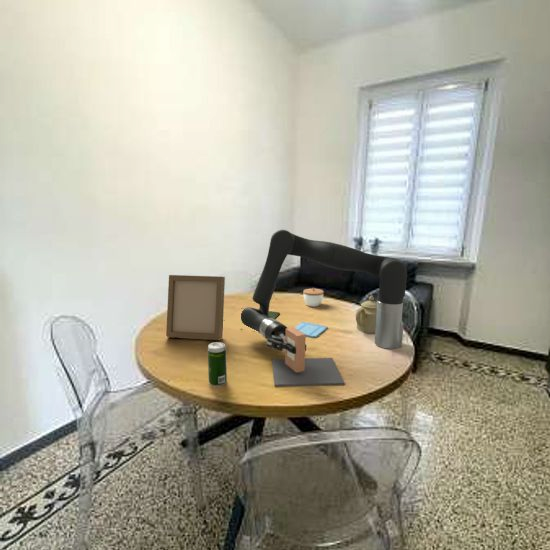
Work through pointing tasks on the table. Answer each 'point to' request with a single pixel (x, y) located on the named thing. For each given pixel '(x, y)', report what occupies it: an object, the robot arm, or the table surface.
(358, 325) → the sugar bowl
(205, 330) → the photo frame
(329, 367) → the mat
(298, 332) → the card box
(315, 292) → the lidded jar
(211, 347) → the beer can
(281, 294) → the table surface
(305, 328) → the blue striped flat panel
